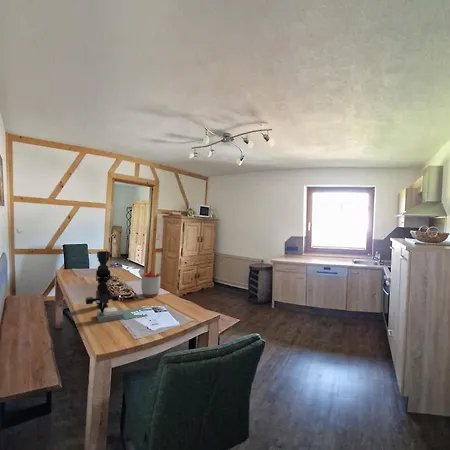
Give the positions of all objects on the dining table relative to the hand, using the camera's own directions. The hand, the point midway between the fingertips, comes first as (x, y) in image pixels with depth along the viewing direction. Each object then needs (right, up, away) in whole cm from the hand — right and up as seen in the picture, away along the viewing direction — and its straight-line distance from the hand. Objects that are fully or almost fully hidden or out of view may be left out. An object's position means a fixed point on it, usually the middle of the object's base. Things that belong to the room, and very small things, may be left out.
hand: (101, 312), depth 174 cm
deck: (+4, -4, +3) cm, 6 cm away
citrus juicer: (+16, -3, +54) cm, 57 cm away
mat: (+17, -4, +11) cm, 20 cm away
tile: (+4, -1, +3) cm, 5 cm away
